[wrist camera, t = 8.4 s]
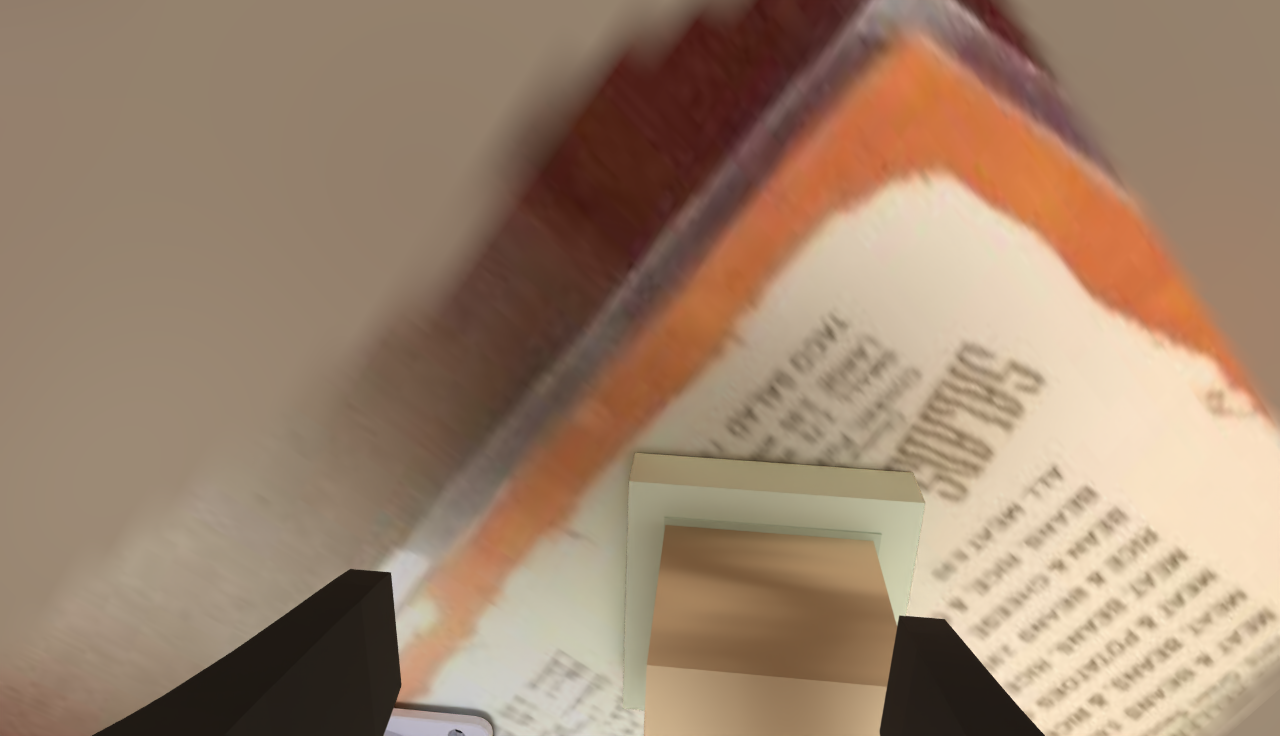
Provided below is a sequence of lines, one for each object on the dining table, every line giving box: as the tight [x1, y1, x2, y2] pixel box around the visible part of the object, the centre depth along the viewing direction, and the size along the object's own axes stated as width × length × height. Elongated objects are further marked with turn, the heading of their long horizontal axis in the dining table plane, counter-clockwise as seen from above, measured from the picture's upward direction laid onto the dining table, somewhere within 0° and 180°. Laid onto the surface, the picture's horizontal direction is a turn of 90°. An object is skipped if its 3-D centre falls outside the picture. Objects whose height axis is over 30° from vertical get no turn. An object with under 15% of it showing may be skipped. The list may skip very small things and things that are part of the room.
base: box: [623, 453, 925, 711], centre depth 23 cm, size 7×7×2 cm
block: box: [644, 525, 897, 736], centre depth 20 cm, size 5×5×5 cm
